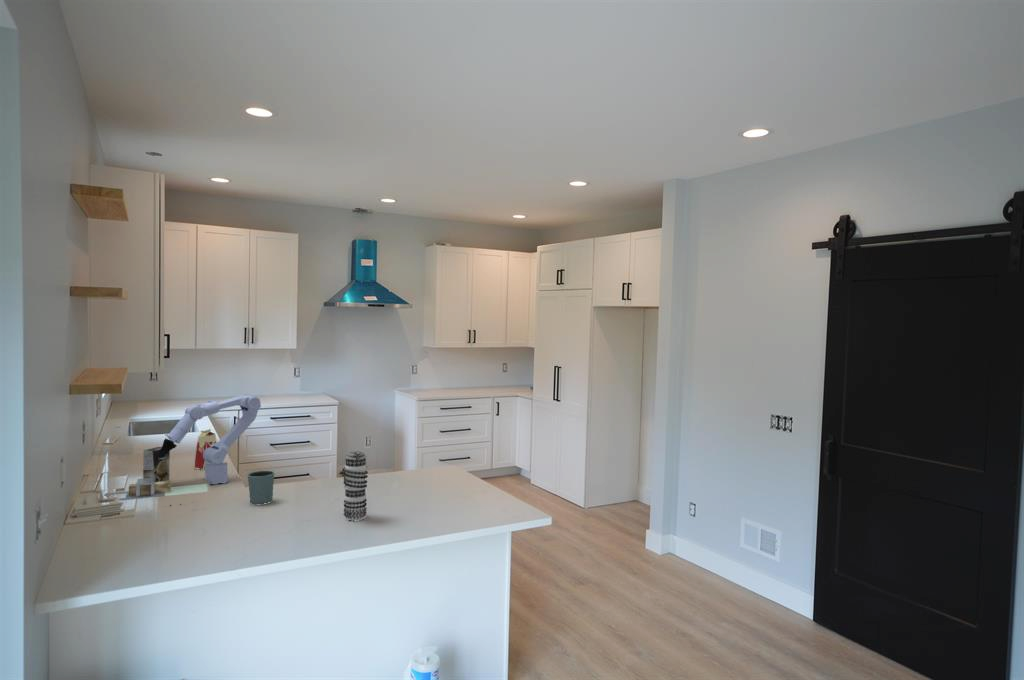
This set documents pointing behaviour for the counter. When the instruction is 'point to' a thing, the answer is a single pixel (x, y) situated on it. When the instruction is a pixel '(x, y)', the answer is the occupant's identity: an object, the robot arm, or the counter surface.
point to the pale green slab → (174, 491)
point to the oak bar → (146, 489)
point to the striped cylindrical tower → (355, 486)
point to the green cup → (261, 486)
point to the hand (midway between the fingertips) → (159, 456)
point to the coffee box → (156, 465)
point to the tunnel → (145, 482)
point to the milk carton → (203, 447)
